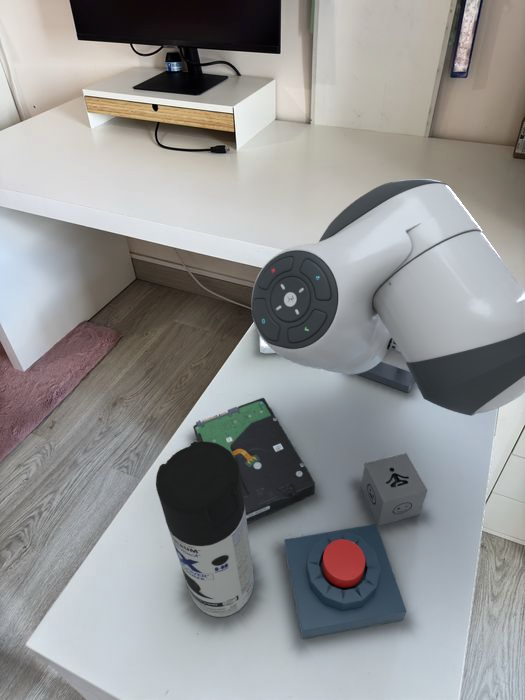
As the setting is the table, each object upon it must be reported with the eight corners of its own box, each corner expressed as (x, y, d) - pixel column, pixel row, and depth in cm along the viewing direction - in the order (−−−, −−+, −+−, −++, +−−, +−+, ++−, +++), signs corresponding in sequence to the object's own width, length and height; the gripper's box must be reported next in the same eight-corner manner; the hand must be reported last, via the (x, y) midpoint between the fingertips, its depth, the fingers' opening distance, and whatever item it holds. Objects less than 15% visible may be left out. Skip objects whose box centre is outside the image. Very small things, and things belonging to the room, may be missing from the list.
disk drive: (316, 495, 59) (264, 408, 69) (317, 482, 57) (263, 395, 67) (235, 531, 56) (193, 435, 66) (233, 519, 55) (190, 422, 64)
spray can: (177, 582, 52) (136, 473, 39) (227, 539, 56) (205, 425, 42) (217, 633, 49) (186, 532, 35) (268, 584, 52) (258, 474, 38)
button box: (374, 533, 55) (378, 515, 53) (403, 620, 49) (409, 603, 46) (284, 549, 55) (284, 531, 52) (302, 639, 48) (302, 623, 45)
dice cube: (378, 525, 56) (383, 502, 53) (360, 487, 60) (364, 463, 56) (419, 514, 57) (427, 490, 53) (400, 477, 60) (406, 453, 57)
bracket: (407, 393, 70) (423, 322, 62) (348, 371, 74) (355, 301, 65) (434, 342, 78) (451, 272, 69) (378, 324, 81) (388, 256, 73)
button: (356, 544, 51) (358, 535, 50) (369, 584, 48) (370, 576, 47) (318, 551, 51) (318, 542, 49) (328, 591, 48) (328, 583, 46)
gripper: (465, 331, 45) (468, 346, 58) (268, 271, 53) (309, 296, 66) (440, 397, 45) (449, 398, 58) (248, 327, 54) (293, 341, 66)
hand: (373, 343), depth 62 cm, fingers closed on lever, 3 cm apart
